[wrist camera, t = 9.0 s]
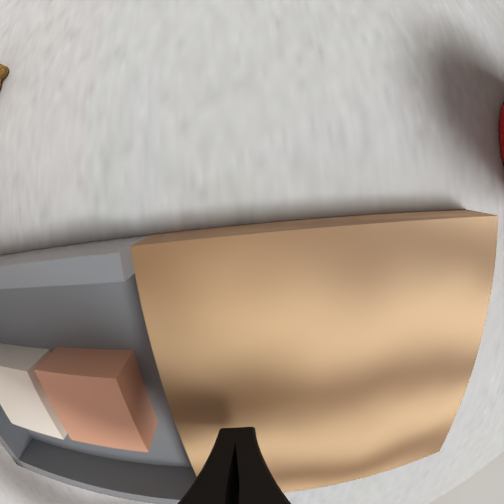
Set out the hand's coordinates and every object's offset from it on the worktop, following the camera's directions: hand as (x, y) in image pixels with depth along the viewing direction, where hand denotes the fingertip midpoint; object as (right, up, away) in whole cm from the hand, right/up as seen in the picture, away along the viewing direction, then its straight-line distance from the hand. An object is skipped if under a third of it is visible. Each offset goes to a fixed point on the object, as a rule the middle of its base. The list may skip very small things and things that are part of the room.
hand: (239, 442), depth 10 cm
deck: (+5, +1, +4) cm, 6 cm away
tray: (-11, 0, +4) cm, 12 cm away
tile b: (-13, 0, +3) cm, 14 cm away
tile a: (-8, 0, +3) cm, 8 cm away
